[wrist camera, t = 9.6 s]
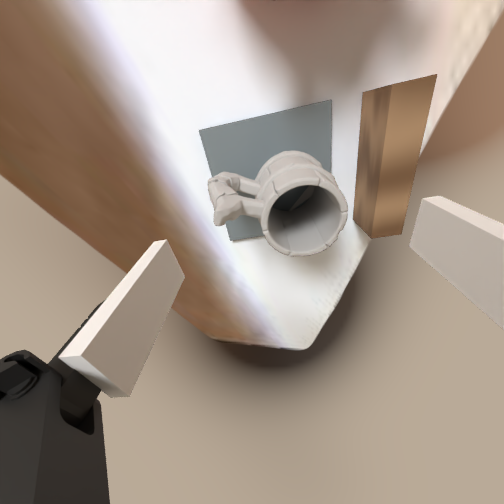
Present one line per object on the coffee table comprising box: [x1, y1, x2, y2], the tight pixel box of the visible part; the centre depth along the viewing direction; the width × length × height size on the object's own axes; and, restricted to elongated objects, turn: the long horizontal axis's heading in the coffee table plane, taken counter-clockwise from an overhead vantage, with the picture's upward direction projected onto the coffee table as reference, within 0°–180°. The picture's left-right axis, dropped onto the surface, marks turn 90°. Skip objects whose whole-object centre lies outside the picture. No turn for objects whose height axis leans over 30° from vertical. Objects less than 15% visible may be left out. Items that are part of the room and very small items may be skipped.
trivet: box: [199, 100, 332, 241], centre depth 23 cm, size 13×13×1 cm
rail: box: [353, 74, 437, 238], centre depth 20 cm, size 13×3×5 cm, turn 11°
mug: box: [208, 150, 348, 256], centre depth 18 cm, size 8×12×12 cm, turn 79°
